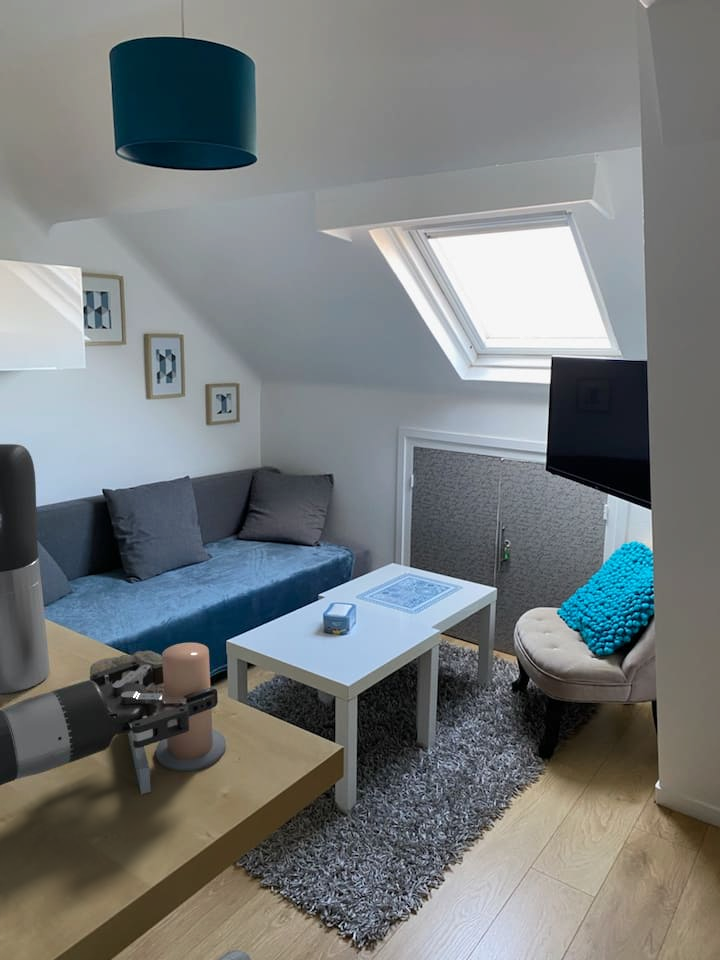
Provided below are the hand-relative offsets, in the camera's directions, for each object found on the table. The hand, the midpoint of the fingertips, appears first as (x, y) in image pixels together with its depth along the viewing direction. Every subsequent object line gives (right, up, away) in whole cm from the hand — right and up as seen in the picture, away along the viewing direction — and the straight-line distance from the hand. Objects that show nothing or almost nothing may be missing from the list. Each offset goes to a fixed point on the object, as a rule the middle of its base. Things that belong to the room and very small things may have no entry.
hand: (198, 680), depth 86 cm
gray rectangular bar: (-7, -9, 0) cm, 11 cm away
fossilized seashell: (-12, -6, +14) cm, 19 cm away
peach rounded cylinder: (-1, -8, +1) cm, 8 cm away
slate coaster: (-1, -9, +1) cm, 9 cm away
